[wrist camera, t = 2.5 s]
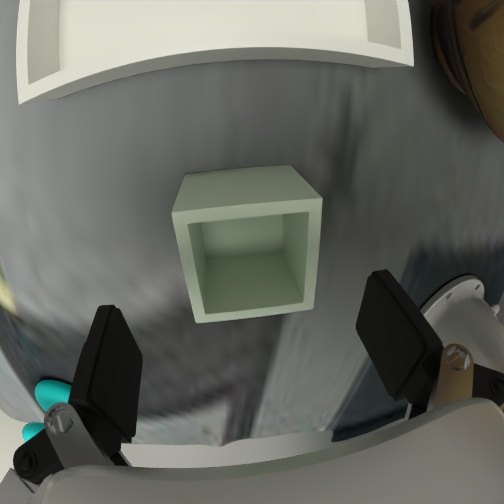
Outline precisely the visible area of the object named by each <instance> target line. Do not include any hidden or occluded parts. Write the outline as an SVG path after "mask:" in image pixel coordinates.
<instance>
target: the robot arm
mask: <svg viewBox="0 0 504 504" xmlns="http://www.w3.org/2000/svg"><path fill="white" fill-rule="evenodd" d="M483 297H484V286H483V284H482V282H481V281H480V280H479V279H478V278H477V277H475V276H473V275H466V276H462V277H459V278H457V279H455V280H453V281H451V282H450V283H448V284H447V285H445V286H444V287H443V288H442V289H440V290H439V291H438V292H437V293H436V294H435V295H433V296H432V297H431V298H430V299H429V300H428V302H427V303H426V304H425V305H424V306H423V307H422V308H421V310H419V309H418V308H417V306H416V305H415V304H414V302H413V301H412V300H411V298H410V297H409V296H408V295H407V293H406V292H405V291H404V289H403V288H402V287H401V286H400V284H399V283H398V282H397V281H396V279H395V278H394V277H393V276H392V274H391V273H390V272H389V271H388V270H386V269H384V270H379V271H374V272H372V274H371V276H369V277H368V279H367V283H366V288H365V292H364V296H363V300H362V303H361V307H360V311H359V315H358V318H357V322H356V330H357V333H358V335H359V337H360V339H361V341H362V342H363V344H364V346H365V348H366V350H367V352H368V354H369V356H370V358H371V360H372V362H373V364H374V366H375V368H376V370H377V372H378V374H379V376H380V378H381V380H382V382H383V384H384V386H385V388H386V390H387V392H388V394H389V395H390V396H391V397H392V396H393V398H394V400H395V402H397V401H399V400H402V399H404V398H407V400H408V402H409V405H408V408H407V412H406V415H405V419H404V422H403V423H400V424H398V425H395V426H392V427H390V428H388V429H385V430H382V431H380V432H377V433H374V434H371V435H369V436H366V437H363V438H360V439H357V440H354V441H351V442H347V443H344V444H341V445H337V446H334V447H331V448H326V449H323V450H319V451H315V452H311V453H306V454H302V455H297V456H293V457H288V458H282V459H277V460H271V461H265V462H258V463H251V464H243V465H233V466H222V467H208V468H144V467H132V465H131V464H130V463H129V461H128V460H127V459H126V457H125V456H124V455H123V454H122V452H121V451H120V450H121V443H131V441H132V437H134V436H135V434H136V422H137V410H138V399H139V389H140V380H141V372H142V364H143V357H142V353H141V351H140V349H139V347H138V345H137V343H136V341H135V340H134V337H133V335H132V333H131V331H130V329H129V327H128V325H127V323H126V321H125V319H124V317H123V314H122V312H121V310H120V309H119V308H116V307H115V306H114V305H102V306H99V307H98V309H97V312H96V314H95V317H94V320H93V323H92V326H91V329H90V332H89V335H88V338H87V341H86V342H85V343H84V346H83V348H82V352H81V355H80V358H79V362H78V365H77V368H76V372H75V376H74V379H73V383H72V387H71V391H70V395H69V399H68V403H65V402H59V403H56V404H54V405H52V406H51V407H50V408H49V409H48V410H47V412H46V414H45V417H44V426H45V428H44V429H43V430H41V431H40V432H39V433H37V434H36V435H35V436H33V437H32V438H31V439H29V440H28V441H27V442H25V443H24V444H23V445H21V446H20V447H19V448H18V449H17V450H16V452H15V454H14V457H13V465H14V469H12V468H10V470H9V471H8V472H7V474H6V476H5V477H4V479H3V480H2V482H1V484H0V504H504V327H503V325H502V324H501V323H500V322H499V320H498V319H497V316H496V314H497V313H498V312H499V310H500V308H499V305H498V304H497V303H496V304H493V305H491V306H489V305H488V304H487V303H486V301H485V300H484V299H483Z"/></svg>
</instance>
